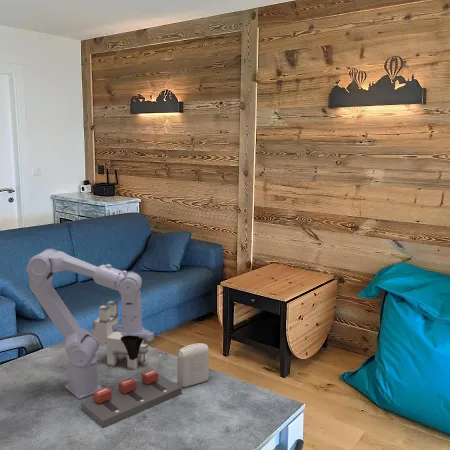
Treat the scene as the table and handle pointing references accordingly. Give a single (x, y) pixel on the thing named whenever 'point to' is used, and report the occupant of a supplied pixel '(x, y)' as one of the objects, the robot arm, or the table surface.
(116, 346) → the toy llama
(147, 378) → the switch
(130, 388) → the switch
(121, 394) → the slider switch panel
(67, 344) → the robot arm
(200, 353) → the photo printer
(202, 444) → the table surface
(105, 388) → the switch
